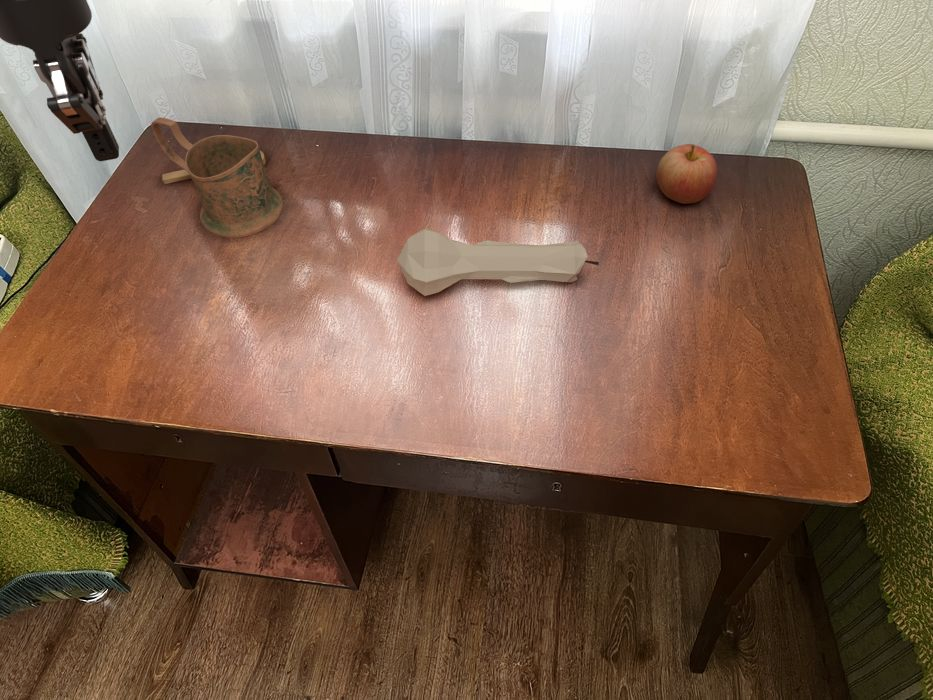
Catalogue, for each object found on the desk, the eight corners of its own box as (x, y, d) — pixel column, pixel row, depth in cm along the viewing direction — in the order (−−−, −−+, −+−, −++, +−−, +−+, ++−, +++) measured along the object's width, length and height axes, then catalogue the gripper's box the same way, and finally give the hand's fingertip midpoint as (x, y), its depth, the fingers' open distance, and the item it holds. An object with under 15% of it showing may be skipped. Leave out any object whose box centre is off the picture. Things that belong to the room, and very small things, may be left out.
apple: (655, 173, 101) (666, 125, 95) (712, 182, 100) (726, 133, 93) (648, 208, 96) (658, 159, 90) (707, 217, 95) (722, 169, 89)
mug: (207, 166, 106) (179, 94, 97) (299, 198, 100) (279, 125, 91) (152, 210, 100) (116, 137, 90) (247, 247, 94) (220, 174, 85)
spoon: (164, 190, 102) (162, 184, 102) (163, 172, 105) (161, 167, 104) (267, 168, 105) (265, 162, 104) (263, 152, 108) (262, 146, 107)
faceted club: (399, 252, 91) (589, 249, 92) (399, 310, 88) (595, 307, 88) (395, 213, 83) (602, 211, 84) (394, 276, 80) (610, 273, 80)
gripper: (-23, -57, 58) (70, 127, 71) (-45, 11, 50) (65, 204, 63) (72, -69, 60) (146, 114, 73) (65, -5, 51) (150, 187, 65)
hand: (108, 155), depth 68 cm, fingers closed
